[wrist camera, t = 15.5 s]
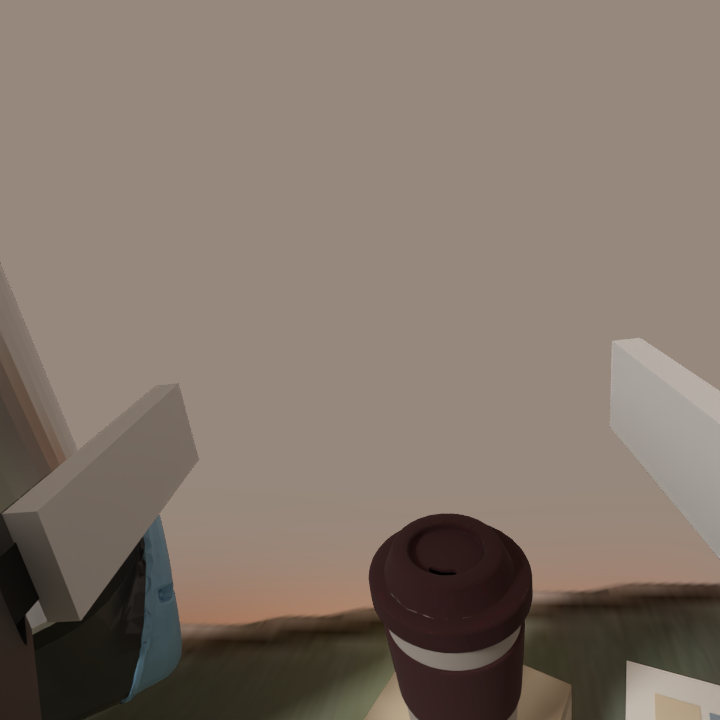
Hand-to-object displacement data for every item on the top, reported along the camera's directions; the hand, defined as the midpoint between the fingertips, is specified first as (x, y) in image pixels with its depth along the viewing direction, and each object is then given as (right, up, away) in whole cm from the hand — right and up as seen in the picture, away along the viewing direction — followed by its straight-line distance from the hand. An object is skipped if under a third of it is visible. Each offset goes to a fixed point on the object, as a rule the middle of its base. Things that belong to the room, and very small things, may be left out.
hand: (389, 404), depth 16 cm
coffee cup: (+6, -24, +20) cm, 32 cm away
